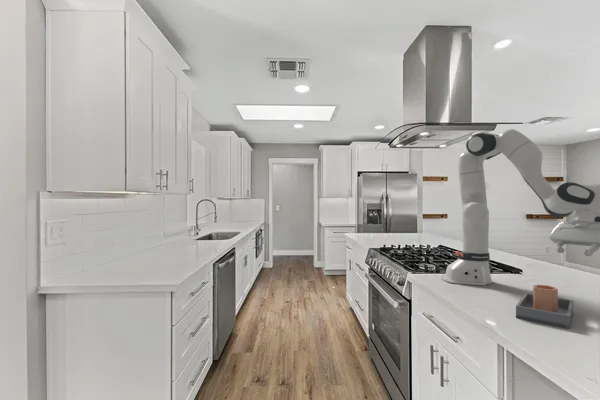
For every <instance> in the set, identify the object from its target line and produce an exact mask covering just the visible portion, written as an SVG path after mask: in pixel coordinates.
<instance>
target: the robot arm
mask: <svg viewBox="0 0 600 400" xmlns="http://www.w3.org/2000/svg"><path fill="white" fill-rule="evenodd" d="M465 147H466V151H464V152H462V153H461V154H460V155H459V157H458V166H457V167H458V169H457V171H458V181H459V189H460V190H459V191H460V198H461V205H462V206H461V207H462V251H459V250H457V251H455V255H457V256H458V258H457V259H456V260H454V261H453V262H452V263H450V264H448V265H447V267H446V271H445V273H444V274H441V277H440V278H441V279H442V280H443V281H445V282H447V283H450V284H457V285H458V284H459V285H471V286H472V285H473V286H487V285H488V284H489V285H490V284H492V283H493V280H492V276H491V270H490V260H491V257H490V252H489V231H490V230H489V229H490V228H489V227H490V223H489V222H490V211H489V208H488V201H487V200H488V199H487V189H486V188H487V187H486V177H485V171H484V162H485V161H486V160H490V159H492V158H494V157H496V156H498V155H500V154H503V155H504V157H506V158H507V159H508V160H509V161H510V162H511V163H512V164H513V166H514V167H515V168H516V169H517V171H518V172H519V173H520V175H521V177H522V178H523V180H524V181H525V183H526V184H527V185H528V186H529V187H530V189H531V190H532V191H533V193H535V195H536V196H537V197H538V198H539V199H540V201H541V203H542V205H543V208H544V210H545V211H546V212H547V213H548V214H549V215H551V216H552V217H554V218H566V217H569V216H570V215H572V214H573V212H574V211H575V213H574V215H573V218H572V219H571V222H569V221H568V222H565V221H563V222H560V223H558V224H556V225H555V227H554V228H553V230H552V231H551V233H550V234H549V236H548V237H549V240H551V242H553V244H557V249H556V252H557V253H560V254H564V252H565V250H566V249H565V248H564V246H565V245H571V246H582V247H583V246H584V247H590V248H588V249H585V250H584V252H583V255H585V256H586V257H592V256H593V254H594V253H596V252H597V251H598V250H599V249H600V184H599V183H595V184H590V185H588V184H580V183H577V182H570V181H569V182H568V181H567V182H564V183H562V184H560V185H559V186H558V187H557V188H556V189H554V188H553V187H552V185H551V183H549V182H548V181H547V179H546V178H545V176H544V175H543V172H542V162H543V152H542V151H541V148H539V146H538V145H536V144H535V142H533V141H532V140H531V139H530V138H528V137H527V136H526V135H525V134H523V133H521V132H519V131H518V130H516V129H513V128H512V129H510V128H509V129H507V130H504V131H503V132H502V133H500V134H496V133H490V132H485V133H484V132H478V133H477V132H476V133H475V134H472V135H470V136H469V137H468V139H467V140H466V143H465Z"/></svg>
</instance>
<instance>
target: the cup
mask: <svg viewBox="0 0 600 400" xmlns="http://www.w3.org/2000/svg"><path fill="white" fill-rule="evenodd" d="M532 288H533V289H532V294H533V309H539V310H544V311H549V312H555V313H558V298H559V293H558V292H559V291H558V290H559V289H558V288H557V287H555V286H551V285H547V284H533V286H532Z"/></svg>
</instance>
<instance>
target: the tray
mask: <svg viewBox="0 0 600 400" xmlns="http://www.w3.org/2000/svg"><path fill="white" fill-rule="evenodd" d="M573 315H574V300H573V299H572V300H571V299H565V298H559V297H558V313H555V312H549V311H544V310H539V309H533V293H529V292H525V293H524V294H523V296H522V297H521V298H520V299H519V301H518V302H517V304H516V305H515V318H516V319H521V320H526V321H528V322H529V321H530V322H536V323H540V324H544V325H549V326H554V327H559V328H564V329H567V330H569V329H571V326H572V319H573Z"/></svg>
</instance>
